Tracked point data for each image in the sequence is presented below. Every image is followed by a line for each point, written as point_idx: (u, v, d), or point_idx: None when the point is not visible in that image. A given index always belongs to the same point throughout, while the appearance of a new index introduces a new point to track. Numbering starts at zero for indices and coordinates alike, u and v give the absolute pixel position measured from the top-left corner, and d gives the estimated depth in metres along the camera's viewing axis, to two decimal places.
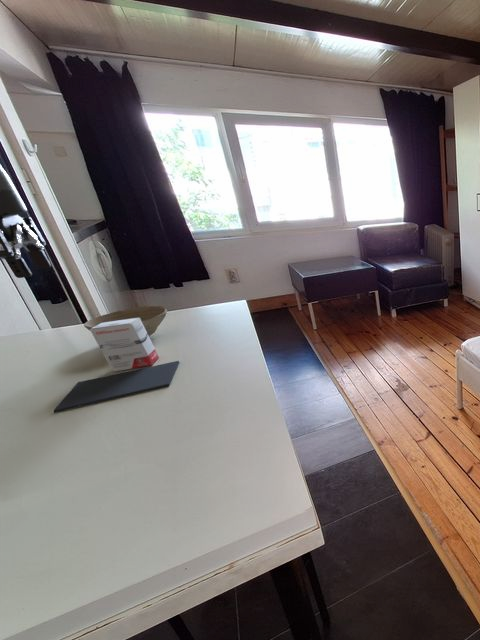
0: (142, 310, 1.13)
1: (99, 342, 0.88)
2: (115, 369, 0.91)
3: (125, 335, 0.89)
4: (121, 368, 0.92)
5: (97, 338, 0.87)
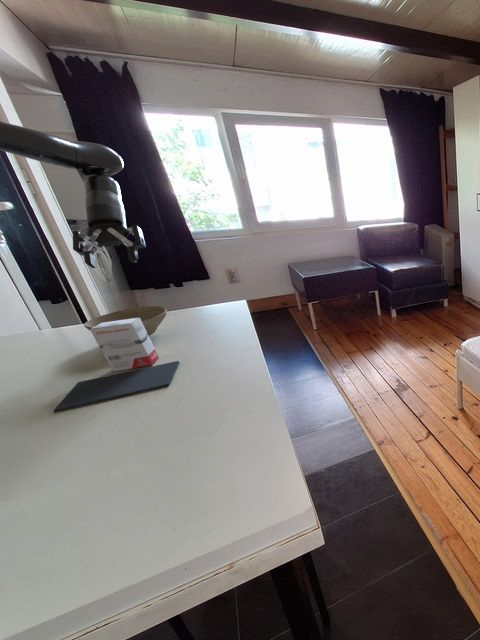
0: (142, 310, 1.13)
1: (99, 342, 0.88)
2: (115, 369, 0.91)
3: (125, 335, 0.89)
4: (121, 368, 0.92)
5: (97, 338, 0.87)
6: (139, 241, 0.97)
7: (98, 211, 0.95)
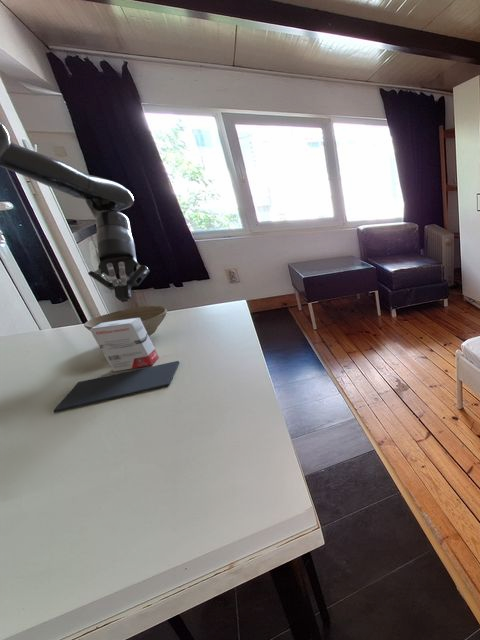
0: (142, 310, 1.13)
1: (99, 342, 0.88)
2: (115, 369, 0.91)
3: (125, 335, 0.89)
4: (121, 368, 0.92)
5: (97, 338, 0.87)
6: (132, 280, 0.98)
7: (110, 246, 0.97)
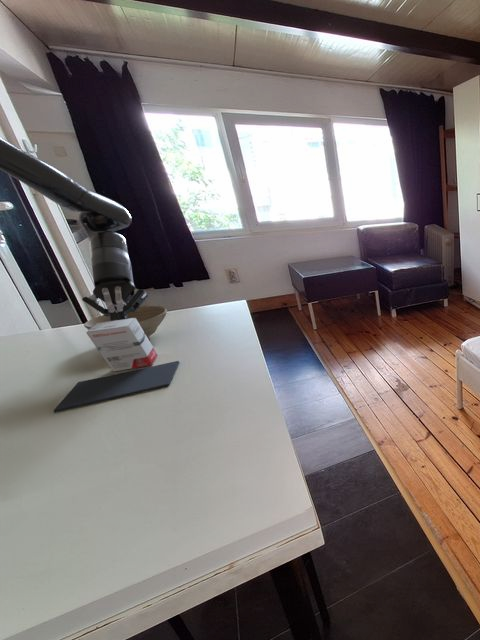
0: (142, 310, 1.13)
1: (97, 344, 0.87)
2: (115, 369, 0.91)
3: (122, 337, 0.88)
4: (120, 368, 0.92)
5: (94, 341, 0.86)
6: (129, 305, 0.93)
7: (105, 270, 0.92)
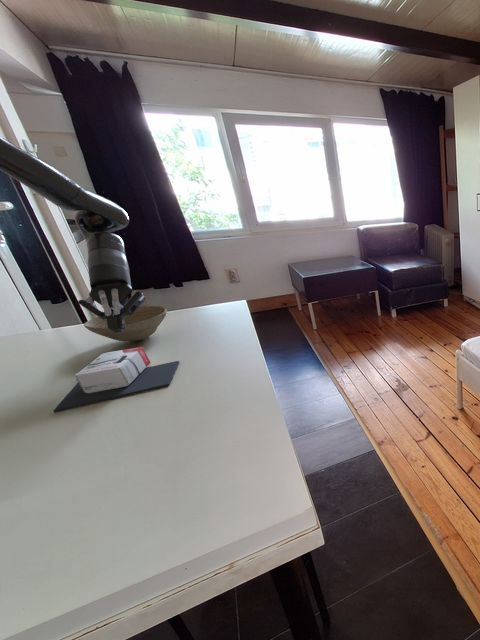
0: (142, 310, 1.13)
1: None
2: None
3: None
4: None
5: None
6: (127, 308, 0.90)
7: (102, 272, 0.89)
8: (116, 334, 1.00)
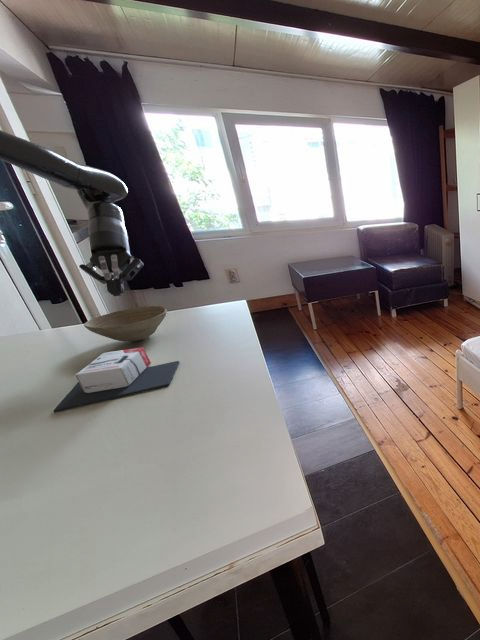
0: (142, 310, 1.13)
1: None
2: None
3: None
4: None
5: None
6: (125, 273, 0.95)
7: (102, 238, 0.94)
8: (116, 334, 1.00)
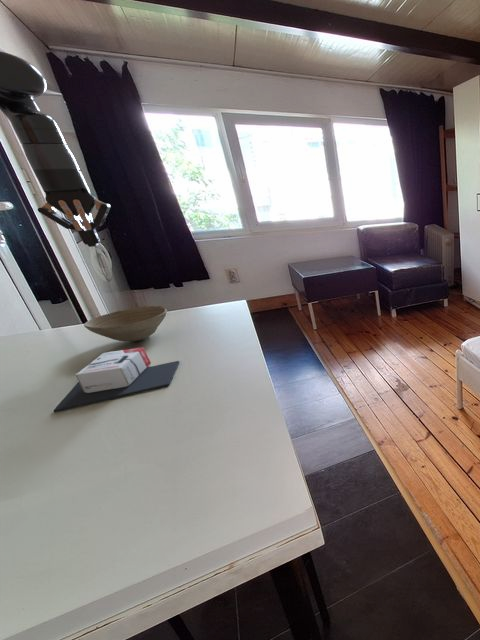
0: (142, 310, 1.13)
1: None
2: None
3: None
4: None
5: None
6: (98, 224, 0.88)
7: (56, 181, 0.80)
8: (116, 334, 1.00)
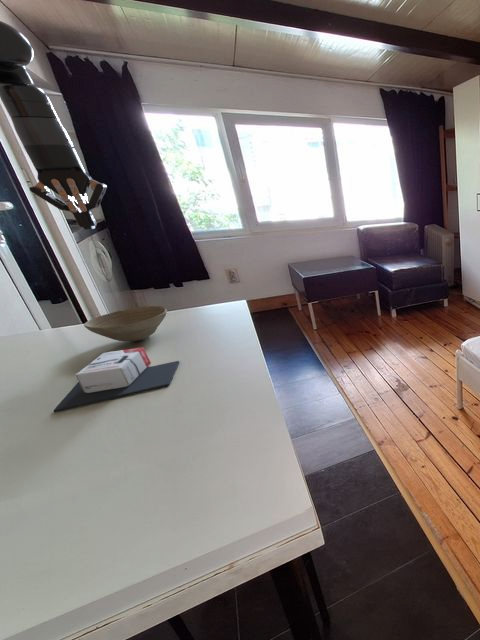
0: (142, 310, 1.13)
1: None
2: None
3: None
4: None
5: None
6: (93, 205, 0.83)
7: (48, 158, 0.76)
8: (116, 334, 1.00)
